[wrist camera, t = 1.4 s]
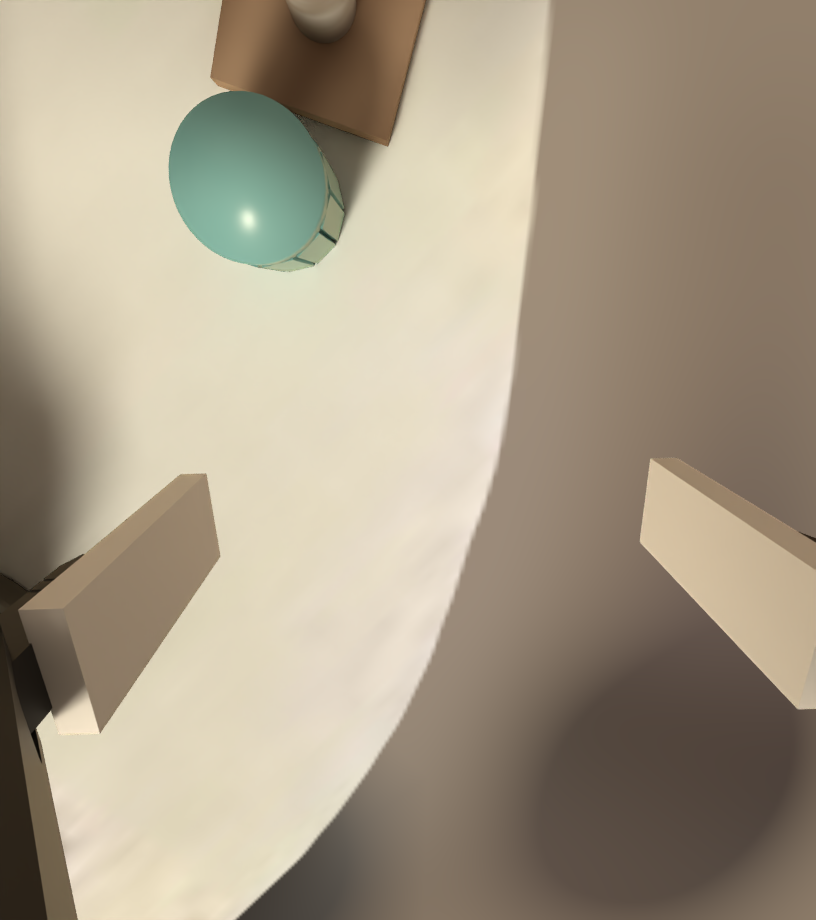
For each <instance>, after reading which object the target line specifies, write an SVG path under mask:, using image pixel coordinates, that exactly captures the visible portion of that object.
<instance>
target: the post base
mask: <svg viewBox="0 0 816 920" xmlns="http://www.w3.org/2000/svg"><path fill="white" fill-rule="evenodd" d="M425 2H426V0H222V6H221V13H220V19H219V26H218V32H217V38H216V45H215V51H214V57H213V64H212V70H211V79H212V80H213V81H214V82H215V83H216V84H217V85H218V86H220V87H223V88H226V89H228V90H231V91H247V92H254V93H257V94H261V95H264V96H266V97H269V98H271V99H273V100H275V101H276V102H278V103H280V104H281V105H283V106H284V107H285V108H287V109H288V110H289V111H290V112H293V113H295V114H298V115H301V116H304V117H307V118H309V119H312V120H315V121H318V122H321V123H323V124H326V125H329V126H332V127H334V128H337V129H340V130H343V131H346V132H348V133H351V134H354V135H357V136H360V137H362V138H365V139H368V140H371V141H374V142H376V143H379V144H382V145H385V146H388V145H389V141H390V137H391V133H392V129H393V125H394V121H395V118H396V114H397V110H398V106H399V102H400V98H401V94H402V91H403V87H404V83H405V79H406V75H407V71H408V68H409V64H410V60H411V56H412V52H413V48H414V44H415V41H416V37H417V33H418V29H419V25H420V21H421V18H422V14H423V10H424V6H425Z"/></svg>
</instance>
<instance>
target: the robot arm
mask: <svg viewBox="0 0 816 920" xmlns="http://www.w3.org/2000/svg"><path fill="white" fill-rule="evenodd" d="M640 543H641V544H642V545H643V546H644V547H645V548H646V549H647V550H648V551H649V552H650V553H651V554H652V555H653V557H655V559H656V560H657V561H658V562H659V563H660V564H661V565H662V566H663V567H664V568H665V569H666V570H667V571H668V572H669V573H670V574H671V576H673V578H674V579H675V580H676V581H677V582H678V583H679V584H680V585H681V586H682V587H683V588H684V589H685V590H686V591H687V592H688V594H689V595H690V596H691V597H692V598H693V599H694V600H695V601H696V602H697V603H698V604H699V605H700V606H701V607H702V608H703V609H704V610H705V612H706V613H707V614H708V615H709V616H710V617H711V618H712V619H713V620H714V621H715V622H716V623H717V624H718V625H719V626H720V627H721V628H722V629H723V631H724V632H725V633H726V634H727V635H728V636H729V637H730V638H731V639H732V640H733V641H734V642H735V643H736V644H737V645H738V646H739V648H740V649H742V651H743V652H744V653H745V654H746V655H747V656H748V657H749V658H750V659H751V660H752V661H753V662H754V663H755V664H756V665H757V667H758V668H759V669H760V670H761V671H762V672H763V673H764V674H765V675H766V676H767V677H768V678H769V679H770V680H771V681H772V682H773V683H774V685H775V686H776V687H777V688H778V689H779V690H780V691H781V692H782V693H783V694H784V695H785V696H786V697H787V698H788V699H789V700H790V702H791V703H792V704H793V705H794V706H795V707H796V708H797V709H816V538H814V537H811V536H808V535H806V534H803V533H800V532H798V531H796V530H794V529H793V528H791V527H789V526H788V525H786V524H784V523H783V522H781V521H780V520H778V519H776V518H774V517H773V516H771V515H770V514H768V513H766V512H764V511H763V510H761V509H760V508H758V507H756V506H755V505H753V504H752V503H750V502H748V501H746V500H745V499H743V498H742V497H740V496H739V495H737V494H735V493H734V492H732V491H730V490H728V489H727V488H725V487H724V486H722V485H721V484H719V483H717V482H716V481H714V480H712V479H711V478H709V477H707V476H706V475H704V474H702V473H701V472H699V471H698V470H696V469H694V468H693V467H691V466H689V465H687V464H686V463H684V462H683V461H681V460H680V459H678V458H651V459H650V466H649V474H648V482H647V489H646V498H645V505H644V513H643V521H642V529H641V536H640ZM219 558H220V551H219V545H218V539H217V534H216V528H215V522H214V516H213V510H212V504H211V498H210V493H209V487H208V481H207V475H206V474H180V475H179V476H178V477H177V478H175V479H174V480H173V481H172V482H171V483H169V484H168V485H167V486H166V487H165V488H163V489H162V490H161V491H160V492H159V493H158V494H156V495H155V496H154V497H153V498H152V499H150V500H149V501H148V502H147V503H146V504H144V505H143V506H142V507H141V508H140V509H138V510H137V511H136V512H135V513H134V514H132V515H131V516H130V517H129V518H128V519H126V520H125V521H124V522H123V523H122V524H120V525H119V526H118V527H117V528H116V529H114V530H113V531H112V532H111V533H110V534H108V535H107V536H106V537H105V538H104V539H102V540H101V541H100V542H99V543H98V544H96V545H95V546H94V547H93V548H92V549H90V550H89V551H88V552H87V553H86V554H82V555H80V556H78V557H76V558H74V559H72V560H71V561H69V562H67V563H65V564H63V565H61V566H59V567H58V568H57V569H56V570H54V571H53V572H52V573H51V574H49V575H48V576H47V577H46V578H44V581H43V582H39V583H38V584H37V585H36V586H34V587H33V588H32V589H31V590H30V593H29V592H27V591H26V590H25V589H23V588H22V587H21V586H19V585H18V584H16V583H15V582H13V581H11V580H10V579H8V578H6V577H4V576H2V575H0V920H78V919H77V914H76V909H75V904H74V899H73V895H72V890H71V885H70V880H69V875H68V870H67V866H66V861H65V856H64V851H63V846H62V841H61V836H60V832H59V827H58V822H57V817H56V812H55V807H54V803H53V798H52V793H51V788H50V783H49V778H48V773H47V769H46V764H45V759H44V754H43V749H42V744H41V741H40V738H39V735H38V732H37V729H36V727H37V726H38V725H39V724H40V723H41V721H42V720H43V719H44V718H45V717H46V715H47V714H48V713H49V712H50V711H51V712H52V715H53V718H54V721H55V724H56V727H57V730H58V733H59V735H75V734H100V733H101V731H102V730H103V728H104V727H105V725H106V724H107V723H108V721H109V720H110V718H111V717H112V715H113V714H114V712H115V711H116V709H117V708H118V706H119V705H120V703H121V702H122V700H123V699H124V697H125V696H126V695H127V693H128V692H129V690H130V689H131V687H132V686H133V684H134V683H135V681H136V680H137V678H138V677H139V675H140V674H141V672H142V671H143V670H144V668H145V667H146V665H147V664H148V662H149V661H150V659H151V658H152V656H153V655H154V653H155V652H156V650H157V649H158V647H159V646H160V644H161V643H162V642H163V640H164V639H165V637H166V636H167V634H168V633H169V631H170V630H171V628H172V627H173V625H174V624H175V622H176V621H177V619H178V618H179V617H180V615H181V614H182V612H183V611H184V609H185V608H186V606H187V605H188V603H189V602H190V600H191V599H192V597H193V596H194V594H195V593H196V591H197V590H198V589H199V587H200V586H201V584H202V583H203V581H204V580H205V578H206V577H207V575H208V574H209V572H210V571H211V569H212V568H213V566H214V565H215V564H216V562H217V561H218V559H219Z"/></svg>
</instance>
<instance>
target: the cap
mask: <svg viewBox="0 0 816 920" xmlns="http://www.w3.org/2000/svg"><path fill="white" fill-rule="evenodd" d="M169 180H170V187H171V191H172V195H173V199H174V202H175V204H176V207H177V209H178V212H179V213H180V215H181V217H182V219H183V221H184V222H185V224H186V225H187V227H188V228H189V230H190V231H191V232H192V233H193V234H194V235H195V237H196V238H197V239H198V240H199V241H200V242H202V243H203V244H204V245H205V246H206V247H207V248H209V249H210V250H212V251H213V252H215V253H216V254H218V255H220V256H222V257H224V258H227V259H229V260H232V261H235V262H239V263H244V264H248V265H252V266H255V267H258V268H264V269H271V270H277V271H283V272H285V271H287V272H291V271H296V270H300V269H304V268H308V267H312V266H314V264H313V262H314V263H317V264H318V263H319V262H320V261H321V260H322V259H323V258H324V257H325V256H326V255H327V254H328V253H329V252H330V251H331V250H332V248H333V247H334V246H335V244H334V242H333V241H332V240H331V239H333V240H336V241H338V239H339V235H340V231H341V227H342V222H343V218H344V212H343V211H342V209H345V208H344V204H343V200H342V196H341V192H340V188H339V184H338V180H337V178H336V176H335V174H334V172H333V170H332V169H331V167H330V165H329V163H328V162H327V160H326V158H325V156H324V155H323V153H322V151H321V149H320V148H319V146H318V145H317V143H316V142H315V141H314V140H313V139H312V138H311V136H310V135H309V133H308V131H307V130H306V128H305V127H304V126H303V124H302V123H301V122H300V121H299V120H298V119H297V117H296V116H295V115H294V114H293V113H292V112H290V111H289V110H288V109H287V108H285V107H284V106H283V105H281V104H280V103H278V102H276V101H275V100H273V99H271V98H269V97H266V96H264V95H261V94H257V93H254V92H247V91H229V92H224V93H220V94H217V95H214V96H211V97H209V98H207V99H206V100H204V101H202V102H201V103H199V104H198V105H197V106H196V107H194V108H193V109H192V110H191V111H190V112H189V113H188V114H187V116H186V117H185V118H184V120H183V121H182V123H181V124H180V126H179V128H178V130H177V132H176V134H175V137H174V140H173V142H172V146H171V151H170V156H169Z"/></svg>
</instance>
